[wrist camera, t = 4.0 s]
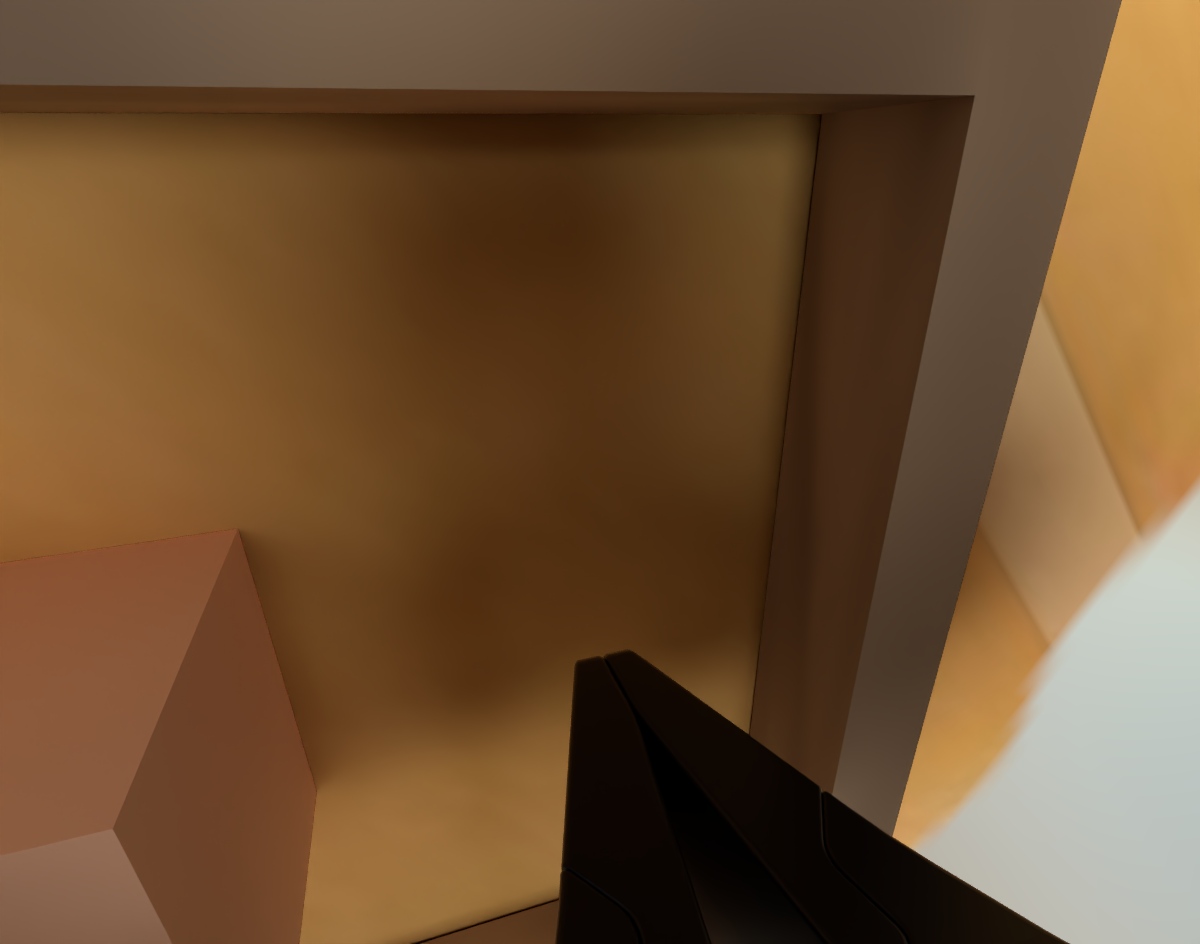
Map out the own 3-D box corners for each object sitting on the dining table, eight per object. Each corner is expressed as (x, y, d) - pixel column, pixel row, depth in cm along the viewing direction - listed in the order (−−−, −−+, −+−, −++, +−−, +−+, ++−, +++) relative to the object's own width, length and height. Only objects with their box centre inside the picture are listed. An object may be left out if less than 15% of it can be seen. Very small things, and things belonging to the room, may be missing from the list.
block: (-48, 874, 9) (-356, 1375, 6) (-250, 594, 7) (-990, 1091, 3) (317, 786, 11) (276, 1142, 7) (238, 525, 8) (112, 829, 5)
